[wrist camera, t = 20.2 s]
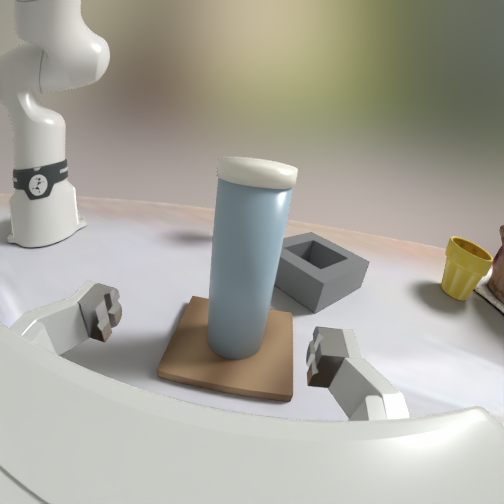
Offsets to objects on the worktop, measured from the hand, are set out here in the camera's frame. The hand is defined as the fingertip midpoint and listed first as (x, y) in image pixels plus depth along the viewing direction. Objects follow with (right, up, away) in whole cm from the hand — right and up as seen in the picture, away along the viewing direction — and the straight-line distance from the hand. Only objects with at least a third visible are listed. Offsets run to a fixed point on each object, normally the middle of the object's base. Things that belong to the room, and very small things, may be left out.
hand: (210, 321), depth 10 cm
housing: (+11, -1, +31) cm, 33 cm away
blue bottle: (0, -6, +16) cm, 17 cm away
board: (0, -7, +17) cm, 18 cm away
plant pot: (+41, -5, +32) cm, 53 cm away
